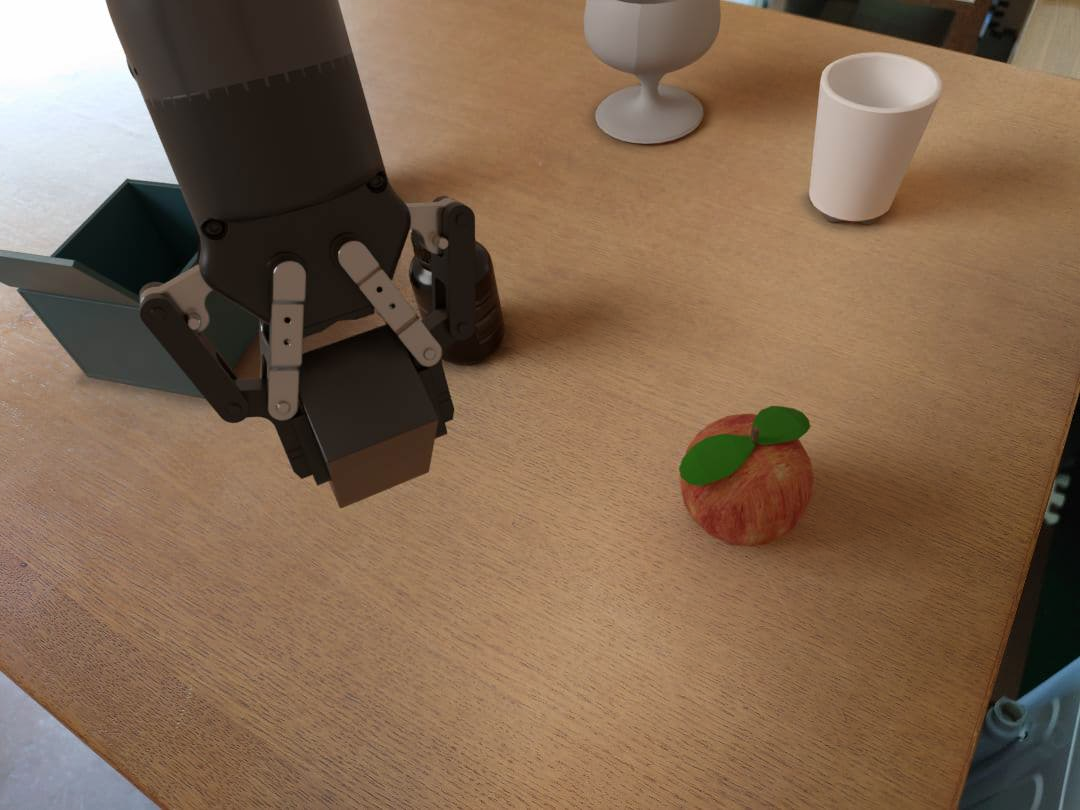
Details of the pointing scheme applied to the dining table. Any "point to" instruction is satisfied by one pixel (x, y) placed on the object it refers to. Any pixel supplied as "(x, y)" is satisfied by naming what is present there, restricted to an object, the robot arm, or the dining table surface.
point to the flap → (60, 278)
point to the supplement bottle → (486, 300)
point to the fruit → (749, 476)
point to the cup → (868, 132)
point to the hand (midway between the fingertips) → (379, 450)
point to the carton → (136, 290)
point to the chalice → (650, 62)
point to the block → (367, 413)
